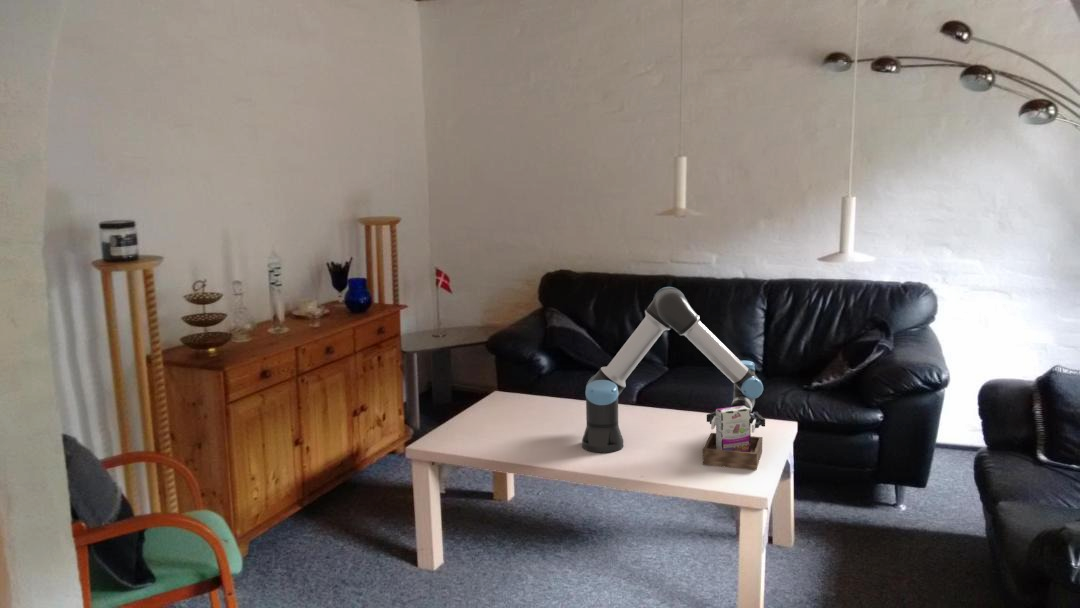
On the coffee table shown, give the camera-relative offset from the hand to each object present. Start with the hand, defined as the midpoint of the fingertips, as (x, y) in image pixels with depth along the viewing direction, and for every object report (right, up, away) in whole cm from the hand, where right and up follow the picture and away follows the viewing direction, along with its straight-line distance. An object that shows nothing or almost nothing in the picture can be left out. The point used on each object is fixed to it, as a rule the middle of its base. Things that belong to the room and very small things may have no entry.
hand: (732, 427), depth 295 cm
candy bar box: (+1, -10, +4) cm, 11 cm away
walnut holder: (+1, -11, +5) cm, 12 cm away
